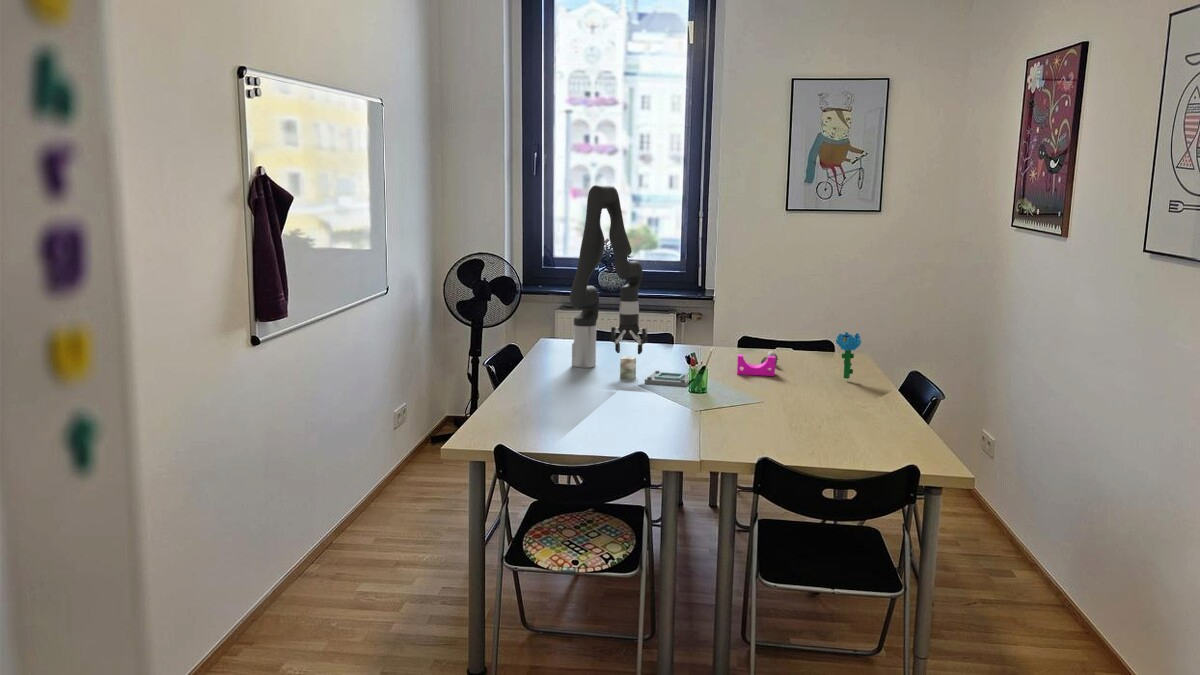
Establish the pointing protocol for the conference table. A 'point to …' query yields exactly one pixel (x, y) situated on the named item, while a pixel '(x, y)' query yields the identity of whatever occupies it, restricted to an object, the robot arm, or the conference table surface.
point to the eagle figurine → (770, 355)
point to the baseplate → (667, 379)
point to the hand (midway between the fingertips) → (628, 353)
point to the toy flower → (848, 350)
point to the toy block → (756, 367)
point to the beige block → (628, 367)
